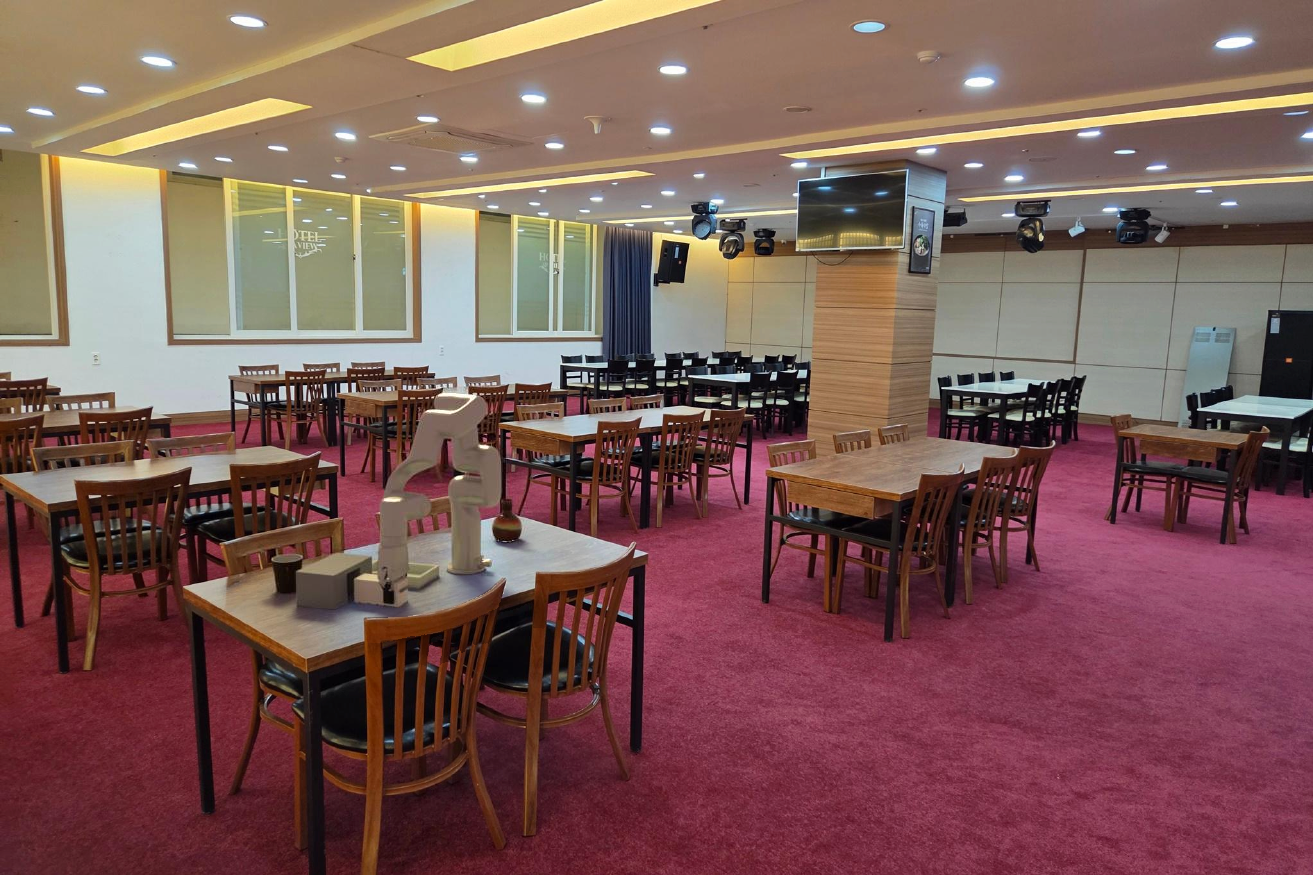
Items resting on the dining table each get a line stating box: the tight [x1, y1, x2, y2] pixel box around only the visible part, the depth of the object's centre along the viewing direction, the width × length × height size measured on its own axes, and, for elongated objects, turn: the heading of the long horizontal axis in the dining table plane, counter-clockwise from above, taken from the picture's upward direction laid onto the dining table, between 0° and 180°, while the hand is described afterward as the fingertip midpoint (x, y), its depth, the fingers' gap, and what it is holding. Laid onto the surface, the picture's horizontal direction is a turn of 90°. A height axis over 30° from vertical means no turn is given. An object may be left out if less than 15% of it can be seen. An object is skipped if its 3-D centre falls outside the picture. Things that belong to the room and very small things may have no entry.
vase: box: [491, 498, 523, 542], centre depth 312 cm, size 11×11×15 cm
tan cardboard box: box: [353, 573, 410, 608], centre depth 243 cm, size 15×6×7 cm, turn 78°
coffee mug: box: [271, 553, 304, 595], centre depth 248 cm, size 12×9×10 cm
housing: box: [295, 552, 373, 610], centre depth 246 cm, size 12×20×10 cm, turn 168°
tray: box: [372, 558, 440, 590], centre depth 264 cm, size 22×13×4 cm, turn 78°
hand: (394, 599), depth 242 cm, fingers closed on tan cardboard box, 5 cm apart
